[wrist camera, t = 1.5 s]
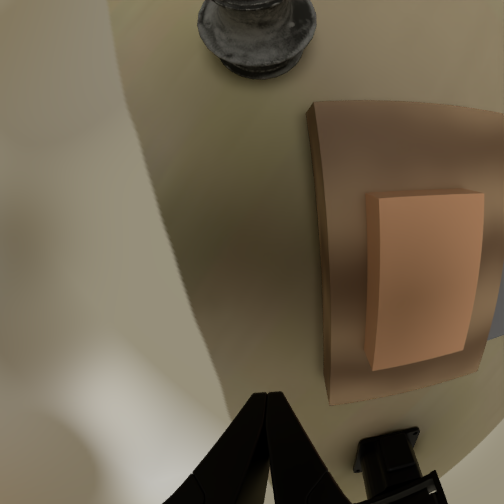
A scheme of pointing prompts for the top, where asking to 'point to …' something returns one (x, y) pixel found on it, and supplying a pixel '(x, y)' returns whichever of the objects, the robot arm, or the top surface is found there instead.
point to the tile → (420, 273)
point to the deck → (355, 223)
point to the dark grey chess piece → (257, 34)
